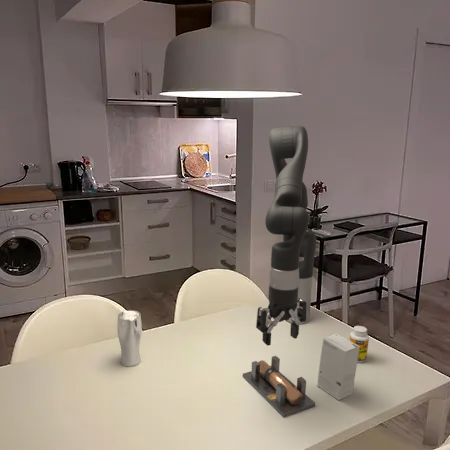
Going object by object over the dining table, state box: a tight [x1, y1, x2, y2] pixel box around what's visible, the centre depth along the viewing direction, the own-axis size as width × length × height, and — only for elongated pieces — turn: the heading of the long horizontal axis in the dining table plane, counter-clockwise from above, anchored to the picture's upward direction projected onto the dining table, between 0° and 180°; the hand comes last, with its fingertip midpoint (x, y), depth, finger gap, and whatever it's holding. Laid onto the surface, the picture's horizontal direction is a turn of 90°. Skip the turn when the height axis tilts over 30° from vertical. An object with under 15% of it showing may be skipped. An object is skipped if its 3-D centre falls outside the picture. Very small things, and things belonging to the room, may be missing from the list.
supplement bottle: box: [349, 325, 370, 364], centre depth 142 cm, size 6×6×10 cm
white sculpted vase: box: [117, 310, 143, 367], centre depth 137 cm, size 7×7×15 cm
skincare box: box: [316, 333, 359, 401], centre depth 125 cm, size 8×6×15 cm
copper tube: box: [257, 360, 302, 405], centre depth 125 cm, size 17×4×4 cm, turn 28°
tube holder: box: [242, 355, 316, 418], centre depth 125 cm, size 20×10×6 cm, turn 28°
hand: (280, 340), depth 122 cm, fingers open, 8 cm apart
